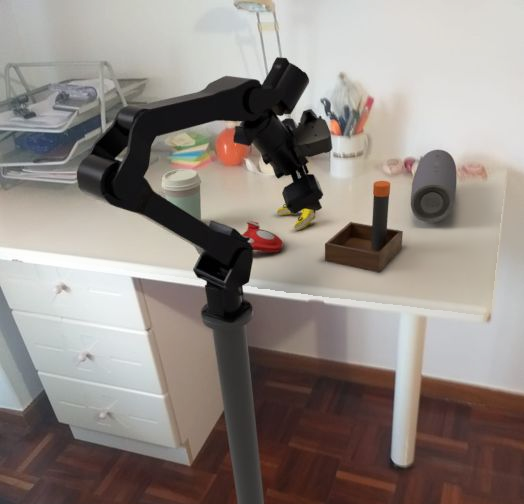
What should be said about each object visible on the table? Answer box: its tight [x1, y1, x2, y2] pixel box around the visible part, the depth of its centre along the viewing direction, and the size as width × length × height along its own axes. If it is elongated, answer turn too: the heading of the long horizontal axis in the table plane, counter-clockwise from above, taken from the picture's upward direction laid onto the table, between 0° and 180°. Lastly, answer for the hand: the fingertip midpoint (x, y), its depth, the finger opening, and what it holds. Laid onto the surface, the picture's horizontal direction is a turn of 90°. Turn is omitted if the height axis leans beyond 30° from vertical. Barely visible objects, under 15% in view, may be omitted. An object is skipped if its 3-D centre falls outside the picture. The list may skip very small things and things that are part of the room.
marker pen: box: [371, 180, 391, 251], centre depth 108 cm, size 3×3×13 cm
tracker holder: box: [241, 219, 283, 253], centre depth 117 cm, size 12×4×10 cm
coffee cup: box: [161, 168, 202, 222], centre depth 124 cm, size 8×9×12 cm
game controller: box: [276, 203, 317, 232], centre depth 126 cm, size 10×6×4 cm, turn 22°
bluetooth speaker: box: [410, 149, 458, 223], centre depth 124 cm, size 23×9×10 cm, turn 164°
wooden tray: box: [324, 221, 404, 273], centre depth 110 cm, size 11×11×4 cm
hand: (312, 190), depth 106 cm, fingers open, 9 cm apart
